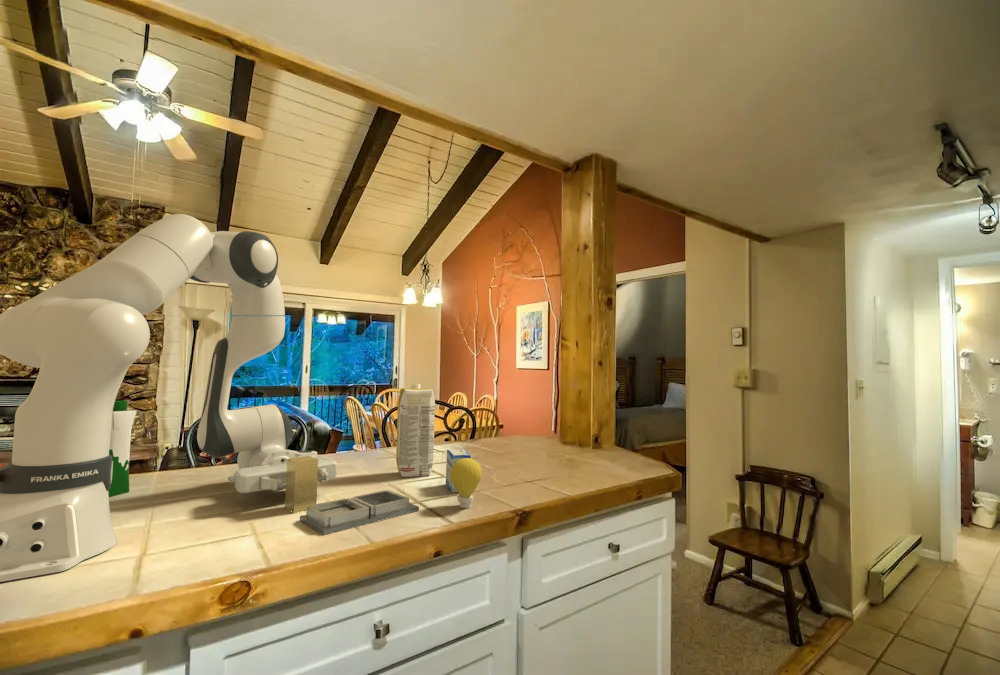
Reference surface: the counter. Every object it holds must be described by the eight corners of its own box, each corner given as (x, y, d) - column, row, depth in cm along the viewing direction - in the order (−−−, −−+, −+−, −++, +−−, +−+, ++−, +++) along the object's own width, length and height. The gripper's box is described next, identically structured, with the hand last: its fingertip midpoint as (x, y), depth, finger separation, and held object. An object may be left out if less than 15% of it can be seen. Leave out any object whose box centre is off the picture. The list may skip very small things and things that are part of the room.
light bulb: (476, 512, 95) (477, 462, 96) (445, 509, 97) (446, 460, 97) (484, 502, 102) (485, 456, 102) (454, 500, 103) (455, 454, 104)
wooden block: (293, 513, 92) (295, 462, 93) (284, 508, 96) (286, 458, 96) (316, 508, 96) (318, 459, 96) (306, 503, 99) (308, 455, 99)
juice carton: (428, 469, 131) (430, 383, 132) (434, 476, 124) (437, 385, 125) (394, 471, 128) (397, 383, 129) (398, 478, 121) (401, 385, 122)
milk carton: (136, 491, 105) (142, 401, 106) (93, 502, 96) (99, 404, 97) (106, 487, 107) (111, 399, 108) (61, 498, 98) (67, 402, 99)
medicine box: (445, 484, 116) (446, 449, 117) (463, 483, 118) (463, 448, 118) (451, 493, 109) (452, 455, 109) (470, 492, 110) (471, 454, 111)
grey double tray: (323, 535, 81) (324, 519, 82) (299, 520, 88) (300, 506, 89) (418, 510, 96) (419, 497, 96) (391, 499, 103) (392, 487, 103)
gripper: (225, 461, 98) (247, 473, 88) (321, 449, 112) (349, 459, 103) (224, 492, 98) (246, 507, 88) (320, 476, 112) (348, 488, 102)
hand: (302, 481), depth 95 cm, fingers open, 8 cm apart
